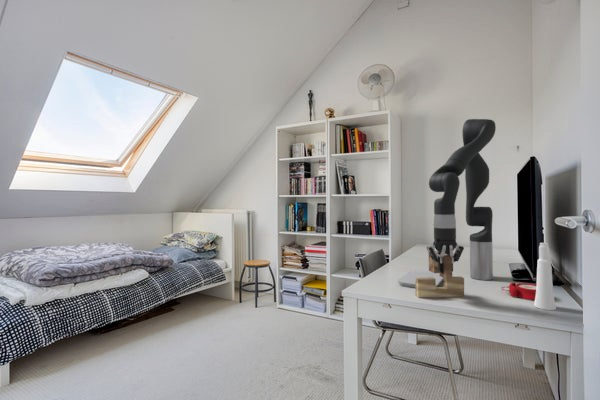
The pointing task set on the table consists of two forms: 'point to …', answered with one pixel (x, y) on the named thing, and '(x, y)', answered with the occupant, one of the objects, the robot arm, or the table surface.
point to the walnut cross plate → (446, 264)
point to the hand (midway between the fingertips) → (445, 272)
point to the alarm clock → (522, 290)
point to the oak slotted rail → (429, 289)
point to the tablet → (409, 278)
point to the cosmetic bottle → (544, 280)
